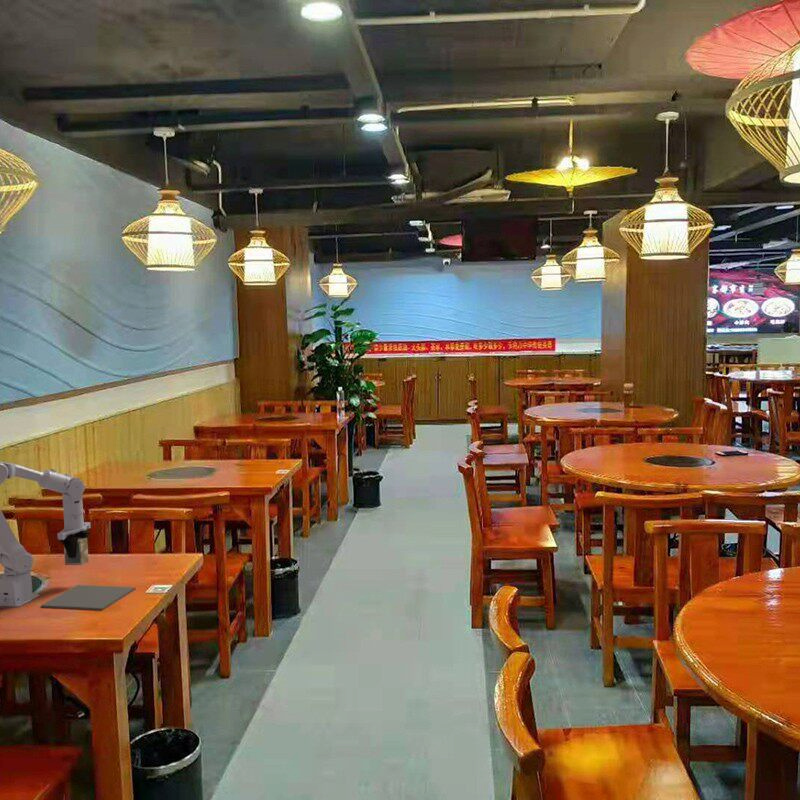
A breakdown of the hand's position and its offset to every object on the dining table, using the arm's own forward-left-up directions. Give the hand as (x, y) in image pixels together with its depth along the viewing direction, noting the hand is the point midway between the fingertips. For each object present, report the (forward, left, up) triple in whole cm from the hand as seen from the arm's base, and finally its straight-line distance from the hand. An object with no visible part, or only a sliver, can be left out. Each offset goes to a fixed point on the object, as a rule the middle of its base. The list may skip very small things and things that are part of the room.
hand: (76, 555), depth 242 cm
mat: (-12, -12, -9) cm, 19 cm away
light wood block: (0, 0, -3) cm, 3 cm away
